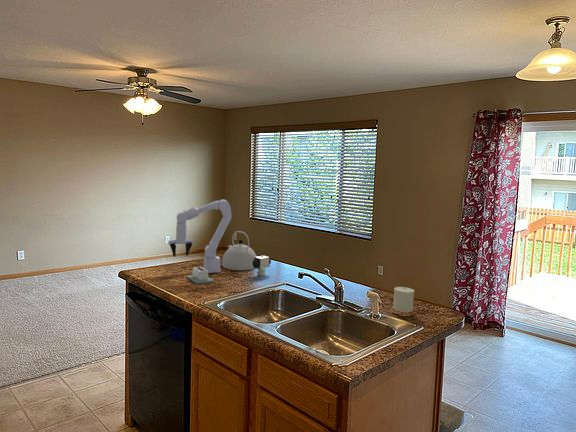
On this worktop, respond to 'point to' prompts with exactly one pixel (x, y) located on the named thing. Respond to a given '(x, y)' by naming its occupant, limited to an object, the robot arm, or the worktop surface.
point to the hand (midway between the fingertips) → (180, 255)
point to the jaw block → (200, 273)
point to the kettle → (239, 256)
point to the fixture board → (200, 280)
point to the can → (403, 299)
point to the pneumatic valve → (261, 264)
